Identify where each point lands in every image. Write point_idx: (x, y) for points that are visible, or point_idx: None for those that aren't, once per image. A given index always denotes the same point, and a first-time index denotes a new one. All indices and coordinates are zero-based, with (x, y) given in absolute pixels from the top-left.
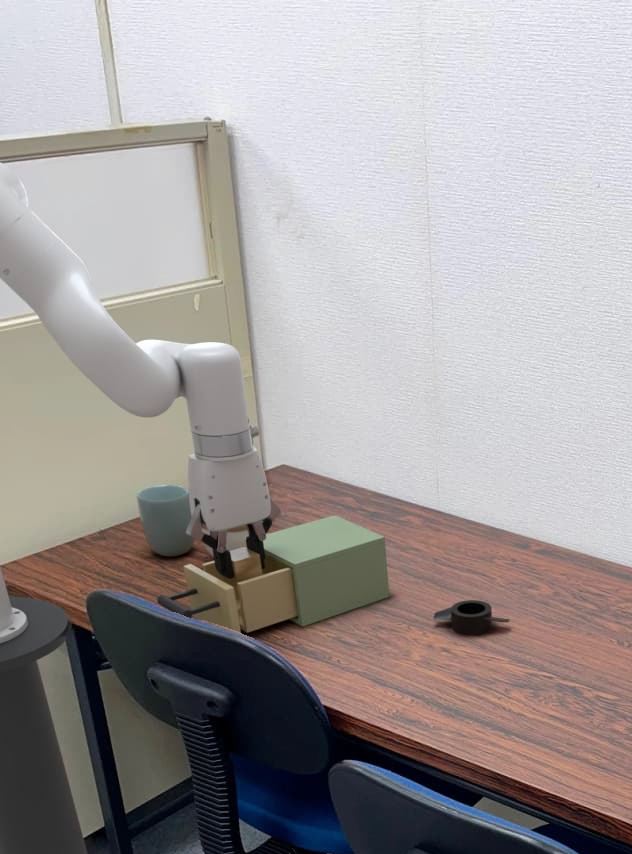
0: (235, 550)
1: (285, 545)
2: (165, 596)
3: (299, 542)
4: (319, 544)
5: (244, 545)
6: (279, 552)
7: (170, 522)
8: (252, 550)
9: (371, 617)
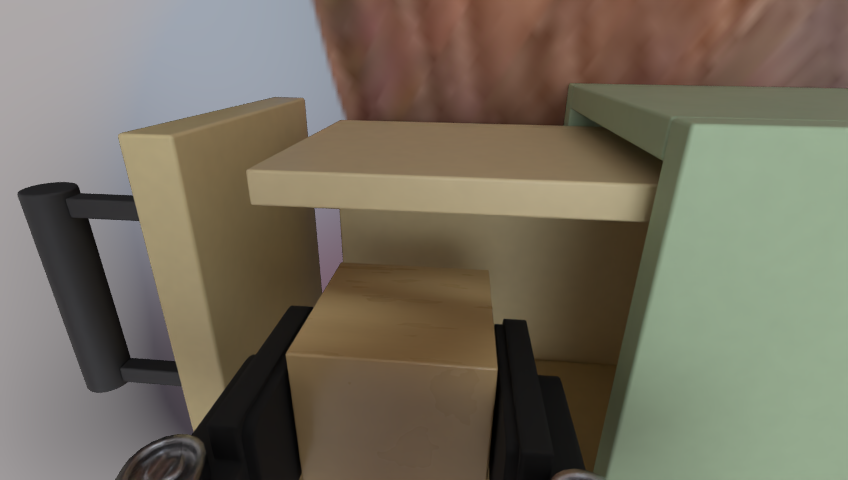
0: (404, 384)
1: (775, 417)
2: (45, 222)
3: None
4: None
5: None
6: (648, 469)
7: None
8: (495, 447)
9: None
